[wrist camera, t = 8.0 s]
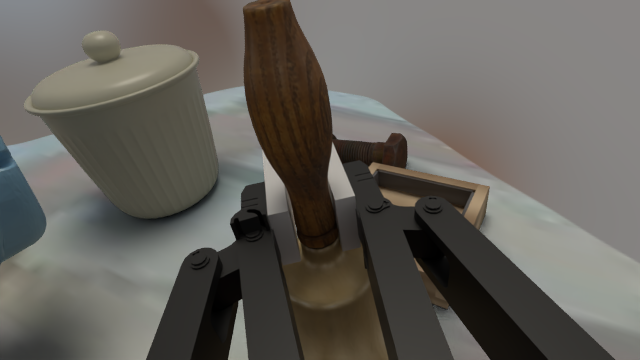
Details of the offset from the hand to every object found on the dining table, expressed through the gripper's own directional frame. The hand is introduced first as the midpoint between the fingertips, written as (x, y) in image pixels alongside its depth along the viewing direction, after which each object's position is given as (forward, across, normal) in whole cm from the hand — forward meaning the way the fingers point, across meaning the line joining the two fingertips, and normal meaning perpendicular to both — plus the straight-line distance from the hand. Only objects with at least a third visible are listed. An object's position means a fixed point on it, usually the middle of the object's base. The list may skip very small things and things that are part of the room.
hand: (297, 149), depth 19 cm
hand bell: (-5, 0, -8) cm, 10 cm away
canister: (+26, -17, -18) cm, 36 cm away
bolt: (+23, +6, -18) cm, 29 cm away
